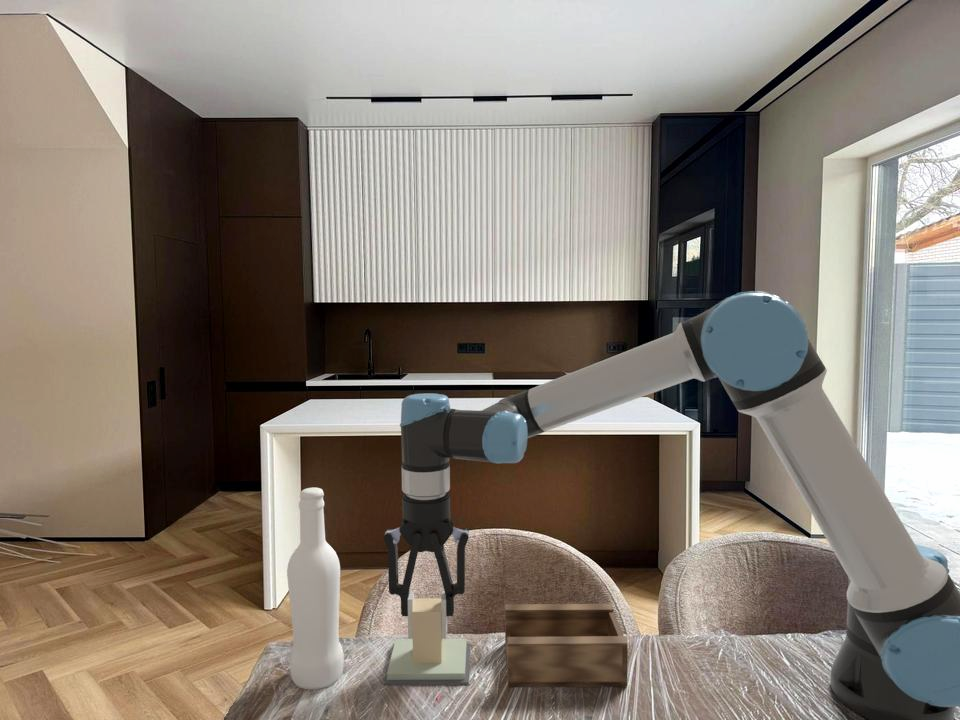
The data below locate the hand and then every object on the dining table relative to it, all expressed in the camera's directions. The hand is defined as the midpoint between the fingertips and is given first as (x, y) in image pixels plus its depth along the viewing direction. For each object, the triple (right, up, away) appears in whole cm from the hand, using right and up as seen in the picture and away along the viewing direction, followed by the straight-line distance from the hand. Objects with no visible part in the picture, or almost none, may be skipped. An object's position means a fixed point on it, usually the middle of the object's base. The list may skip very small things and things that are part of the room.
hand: (428, 633), depth 102 cm
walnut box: (+22, -5, 0) cm, 22 cm away
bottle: (-17, -6, -3) cm, 18 cm away
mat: (0, -5, 0) cm, 5 cm away
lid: (0, -5, +1) cm, 5 cm away
